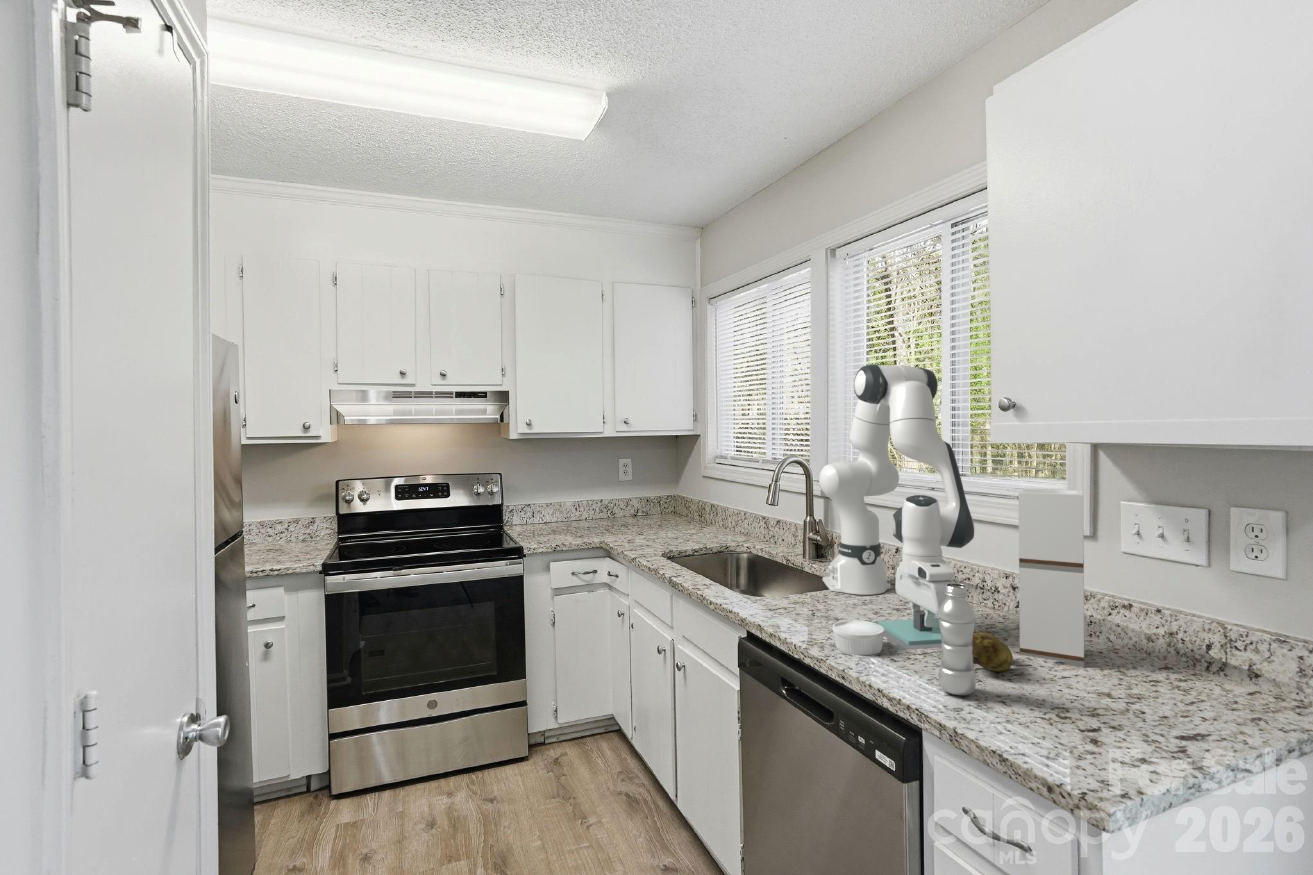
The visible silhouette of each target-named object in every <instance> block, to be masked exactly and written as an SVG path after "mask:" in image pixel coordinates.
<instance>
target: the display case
mask: <svg viewBox="0 0 1313 875" xmlns="http://www.w3.org/2000/svg"><path fill="white" fill-rule="evenodd" d="M1021 490H1022V492H1018V494H1017V495H1018V496H1017V497H1018V584H1019V585H1018V586H1019V589H1018V594H1019V595H1018V596H1019V606H1018V607H1019V655H1021V656H1025V657H1026V656H1027V657H1032V658H1039V659H1046V660H1052V661H1054V662H1052V663H1053V664H1061V665H1066V666H1071V667H1072V666H1073V667H1079V668H1085V648H1086V647H1085V562H1084V561H1085V553H1084V552H1085V551H1084V550H1085V546H1084V545H1085V543H1084V542H1085V540H1084V539H1085V538H1084V536H1085V535H1084V534H1085V532H1084V524H1085V522H1084V489H1079V490H1078V489H1058V488H1057V489H1053V488H1025V487H1024V488H1022V489H1021ZM1055 661H1056V662H1055Z"/></svg>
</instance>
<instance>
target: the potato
mask: <svg viewBox="0 0 1313 875" xmlns="http://www.w3.org/2000/svg"><path fill="white" fill-rule="evenodd" d="M972 646H973V647H972V653H973V663H974V665H978V666H980V667H982V668H983V669H987V670H991V671H993V672H999V673H1001V672H1006V671H1008V670H1009V669H1010V668H1011V666H1012V665H1013V662H1014V657H1013V656H1014V655H1013V654H1012V651H1011V649H1010V648H1009V647H1008V646H1007V645H1006V644H1005V643H1004V642H1002V641H1001V640H1000V639H998V638H997V637H996V636H994V635H992V634H990V633H987V632H977V633H973V644H972Z"/></svg>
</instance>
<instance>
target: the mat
mask: <svg viewBox="0 0 1313 875" xmlns="http://www.w3.org/2000/svg"><path fill="white" fill-rule="evenodd" d="M935 618H936V617H935ZM936 619H938V620H939V617H937V618H936ZM871 622H872V623H876V624H878V622H879V621H871ZM883 638H886V639H888V640H889V641H891V642H892V643H893V644H895V645H896V646H898V648H901V649H902V650H905V651H906V650H918V649H919V650H920V649H931V648H932V649H933V648H934V649H935V648H942V643H930V644H914V645H908V644H907V643H905V642H904V641H902V640H901V639H899V638H898V637H896V636H894V635H893V634H891V633H890V632H888V631H887V630H885V634H884V637H883Z"/></svg>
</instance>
